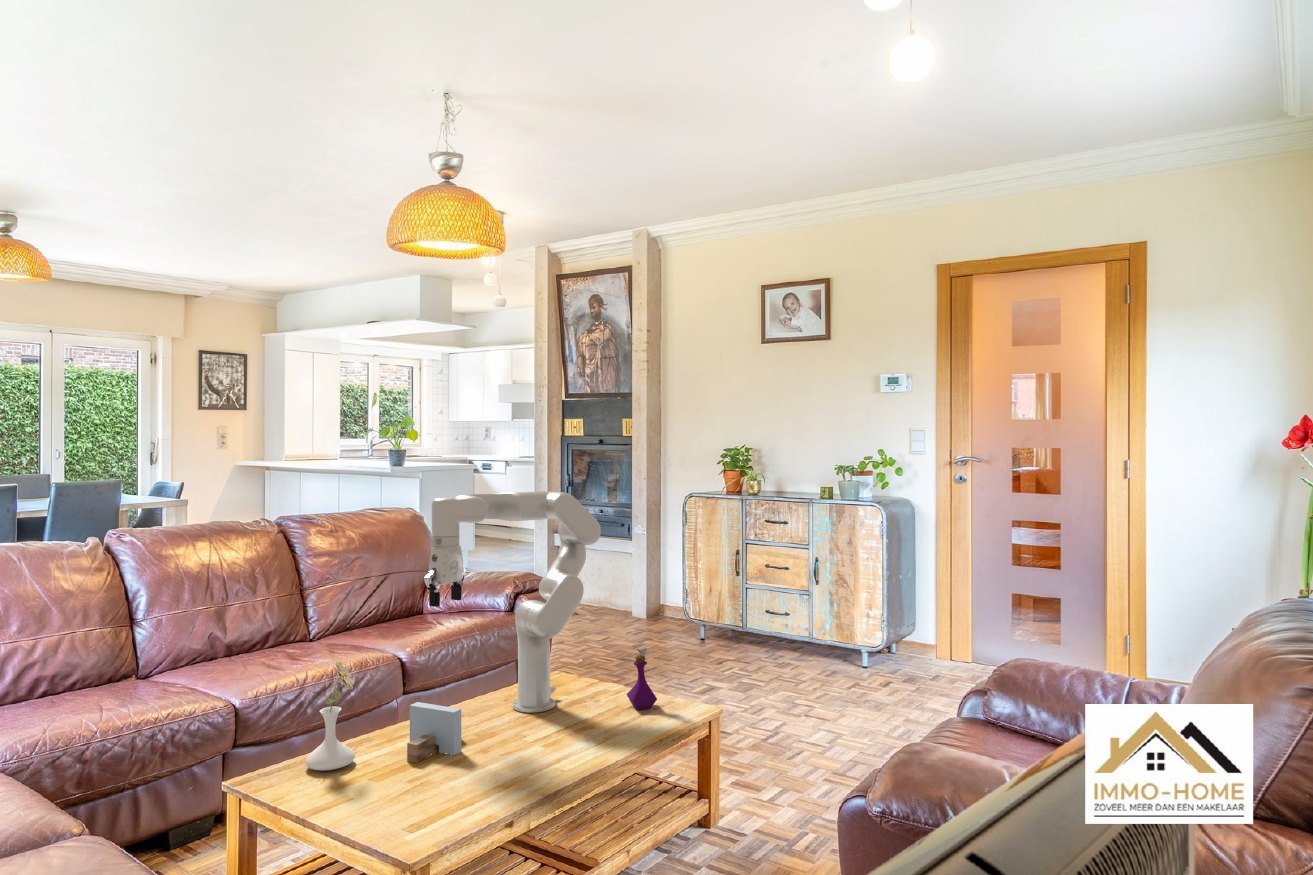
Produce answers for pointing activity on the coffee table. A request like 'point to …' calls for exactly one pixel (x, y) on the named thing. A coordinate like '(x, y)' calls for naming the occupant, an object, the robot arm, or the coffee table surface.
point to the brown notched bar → (421, 748)
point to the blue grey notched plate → (437, 725)
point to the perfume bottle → (641, 686)
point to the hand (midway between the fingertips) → (445, 602)
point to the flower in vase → (332, 732)
